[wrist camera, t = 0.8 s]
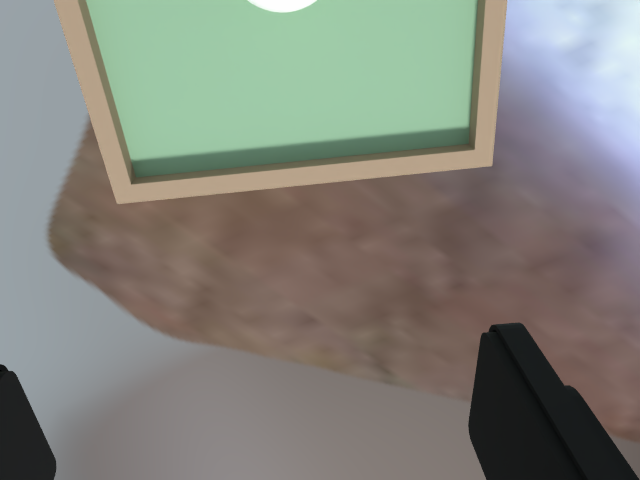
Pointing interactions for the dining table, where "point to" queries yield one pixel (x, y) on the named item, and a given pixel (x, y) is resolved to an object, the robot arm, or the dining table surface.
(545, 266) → the dining table surface
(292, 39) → the putting tray
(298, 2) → the ball
